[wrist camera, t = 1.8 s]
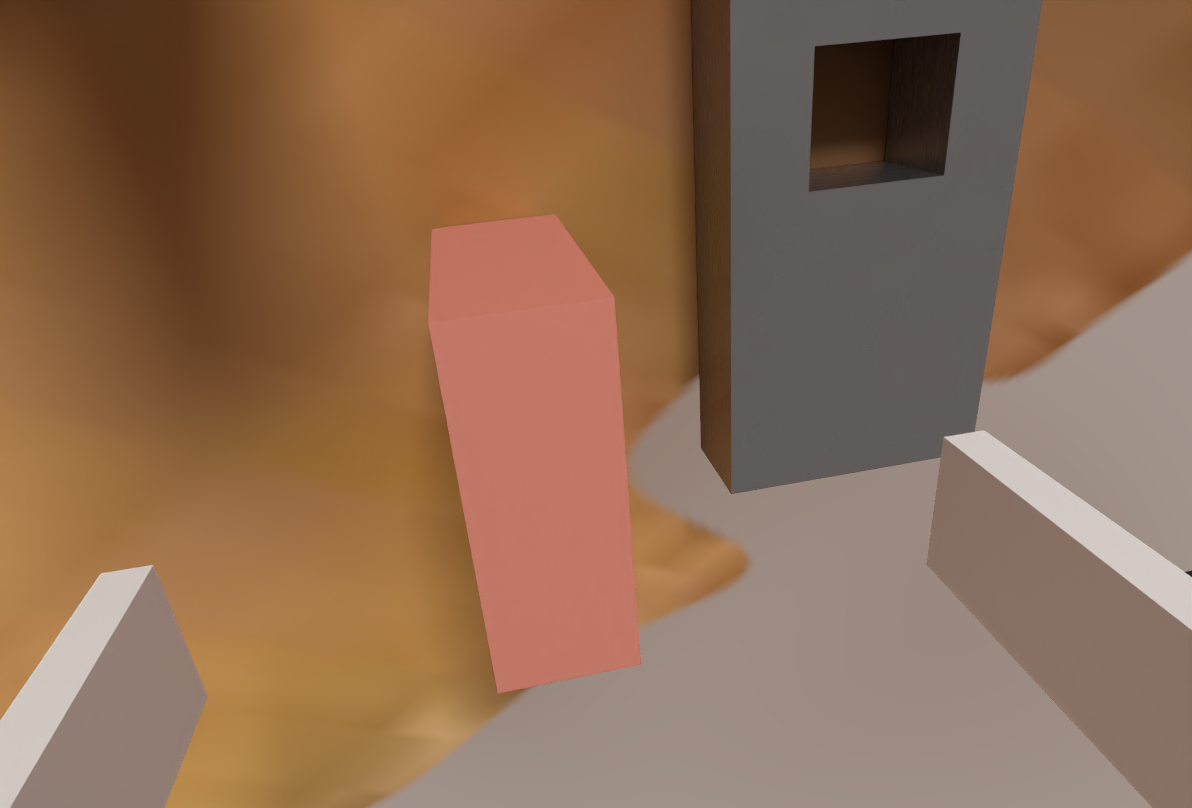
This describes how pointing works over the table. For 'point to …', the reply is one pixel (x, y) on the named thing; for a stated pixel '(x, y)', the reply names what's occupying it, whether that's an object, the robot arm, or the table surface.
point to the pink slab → (537, 446)
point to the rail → (849, 233)
